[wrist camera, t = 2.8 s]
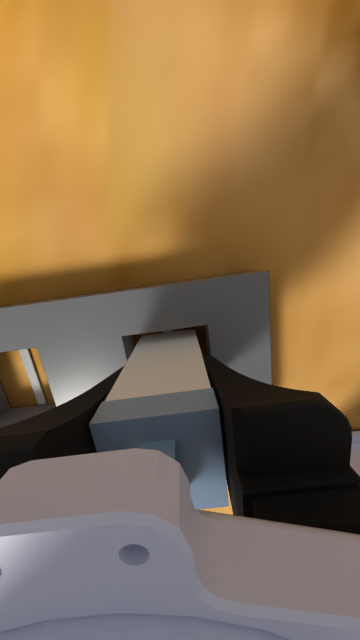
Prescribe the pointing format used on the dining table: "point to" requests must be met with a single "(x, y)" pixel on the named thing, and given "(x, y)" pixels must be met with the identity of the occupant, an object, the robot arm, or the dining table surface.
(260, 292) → the socket strip
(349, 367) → the dining table surface
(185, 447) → the plug
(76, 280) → the dining table surface
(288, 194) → the dining table surface
